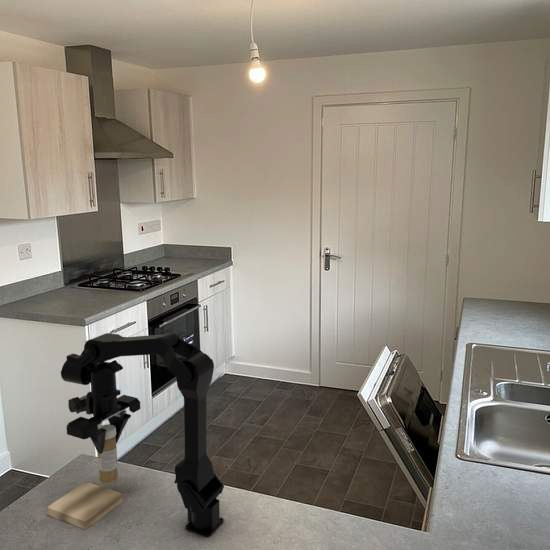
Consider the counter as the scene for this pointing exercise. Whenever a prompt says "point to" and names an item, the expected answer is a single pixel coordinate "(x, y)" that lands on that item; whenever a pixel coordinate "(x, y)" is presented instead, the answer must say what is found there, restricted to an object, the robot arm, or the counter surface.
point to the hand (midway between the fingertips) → (107, 448)
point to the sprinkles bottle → (108, 456)
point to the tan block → (85, 505)
